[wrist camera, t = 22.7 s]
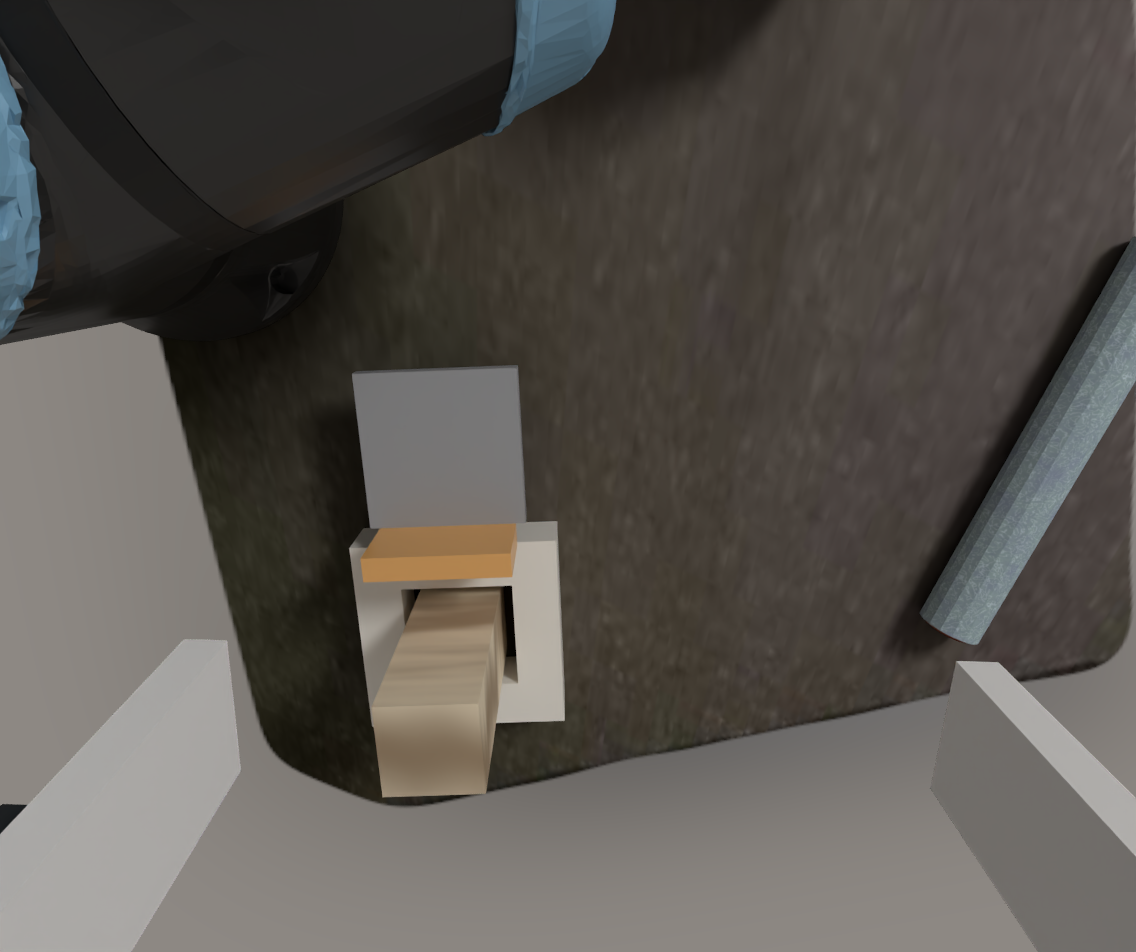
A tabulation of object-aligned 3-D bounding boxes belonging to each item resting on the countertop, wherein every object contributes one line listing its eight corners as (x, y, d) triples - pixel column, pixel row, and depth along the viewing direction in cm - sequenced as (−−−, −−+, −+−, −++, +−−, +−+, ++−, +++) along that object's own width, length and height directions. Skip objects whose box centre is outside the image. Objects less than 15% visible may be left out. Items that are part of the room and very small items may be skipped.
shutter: (376, 544, 41) (352, 582, 37) (356, 371, 38) (327, 389, 34) (527, 539, 41) (522, 576, 36) (517, 365, 38) (511, 382, 34)
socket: (384, 697, 47) (372, 727, 45) (363, 528, 44) (349, 548, 41) (564, 691, 47) (564, 720, 44) (557, 521, 44) (556, 540, 41)
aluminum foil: (1118, 232, 40) (1167, 231, 37) (1227, 280, 41) (1285, 283, 37) (908, 606, 46) (934, 634, 43) (1006, 642, 47) (1039, 673, 44)
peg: (425, 578, 45) (371, 707, 33) (502, 575, 45) (478, 703, 33) (431, 648, 46) (382, 797, 34) (507, 645, 46) (485, 793, 34)
